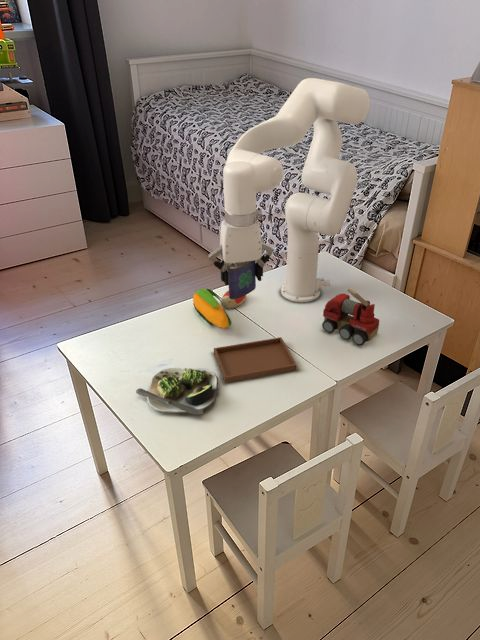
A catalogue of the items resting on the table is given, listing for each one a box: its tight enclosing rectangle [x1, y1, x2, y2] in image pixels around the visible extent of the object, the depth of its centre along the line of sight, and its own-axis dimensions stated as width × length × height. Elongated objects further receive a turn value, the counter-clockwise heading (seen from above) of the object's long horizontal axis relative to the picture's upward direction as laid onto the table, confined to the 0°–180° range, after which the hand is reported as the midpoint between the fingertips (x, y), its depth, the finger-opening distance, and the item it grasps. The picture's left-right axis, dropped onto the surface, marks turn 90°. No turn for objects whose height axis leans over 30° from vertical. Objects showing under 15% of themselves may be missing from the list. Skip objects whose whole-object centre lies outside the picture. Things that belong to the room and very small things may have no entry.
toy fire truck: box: [321, 287, 380, 347], centre depth 150 cm, size 11×16×18 cm
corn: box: [192, 288, 233, 330], centre depth 157 cm, size 7×8×20 cm
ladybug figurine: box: [220, 290, 247, 309], centre depth 166 cm, size 7×10×4 cm
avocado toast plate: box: [135, 367, 219, 416], centre depth 131 cm, size 19×18×5 cm
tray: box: [213, 336, 298, 384], centre depth 143 cm, size 19×13×2 cm
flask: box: [226, 260, 257, 300], centre depth 140 cm, size 9×3×11 cm, turn 138°
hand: (242, 280), depth 141 cm, fingers closed on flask, 8 cm apart
